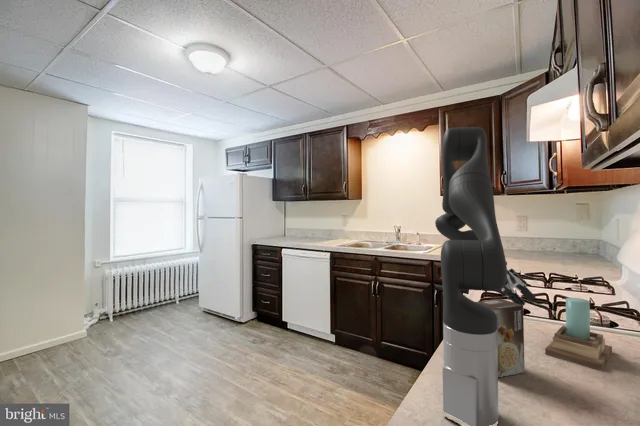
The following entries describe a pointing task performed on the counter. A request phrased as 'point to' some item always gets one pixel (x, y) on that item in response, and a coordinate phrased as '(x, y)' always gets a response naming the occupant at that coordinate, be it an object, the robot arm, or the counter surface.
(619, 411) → the counter surface
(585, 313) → the teal post
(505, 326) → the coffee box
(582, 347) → the base slab
